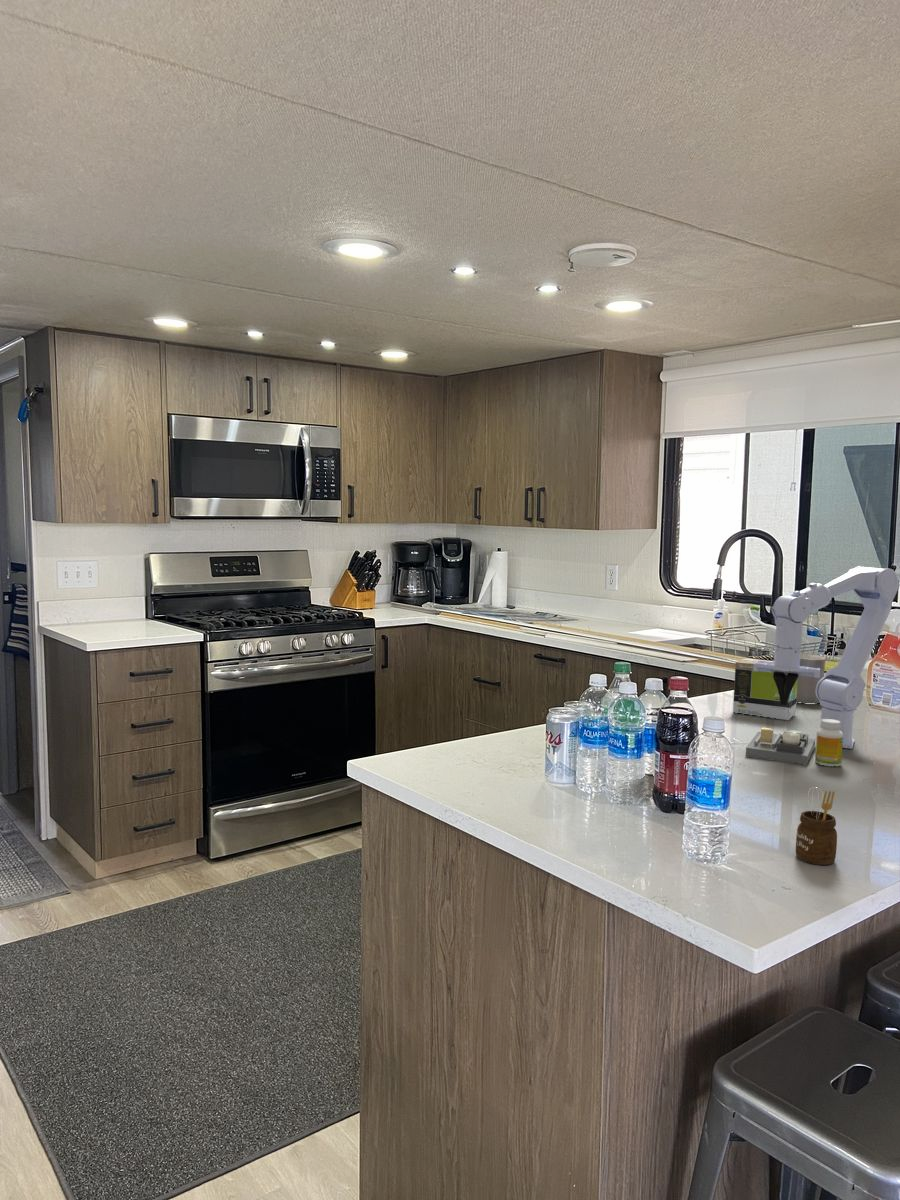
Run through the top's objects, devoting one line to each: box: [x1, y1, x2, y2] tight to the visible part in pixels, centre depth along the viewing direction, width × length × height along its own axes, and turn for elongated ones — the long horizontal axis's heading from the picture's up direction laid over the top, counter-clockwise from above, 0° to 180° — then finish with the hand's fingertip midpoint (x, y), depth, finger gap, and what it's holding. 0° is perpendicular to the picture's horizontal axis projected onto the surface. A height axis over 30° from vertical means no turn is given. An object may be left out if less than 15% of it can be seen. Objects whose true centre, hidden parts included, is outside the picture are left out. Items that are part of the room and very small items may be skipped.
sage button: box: [786, 730, 804, 738], centre depth 209 cm, size 4×4×2 cm
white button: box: [782, 731, 800, 746], centre depth 202 cm, size 4×4×2 cm
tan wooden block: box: [760, 727, 774, 743], centre depth 206 cm, size 2×2×3 cm
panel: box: [745, 731, 816, 766], centre depth 207 cm, size 18×13×4 cm
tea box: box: [732, 658, 798, 721], centre depth 248 cm, size 15×10×15 cm
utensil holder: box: [795, 786, 838, 866], centre depth 141 cm, size 6×6×12 cm
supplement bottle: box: [814, 719, 843, 768], centre depth 198 cm, size 5×5×10 cm
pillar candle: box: [796, 651, 827, 703], centre depth 268 cm, size 10×10×15 cm
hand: (783, 704), depth 210 cm, fingers closed
